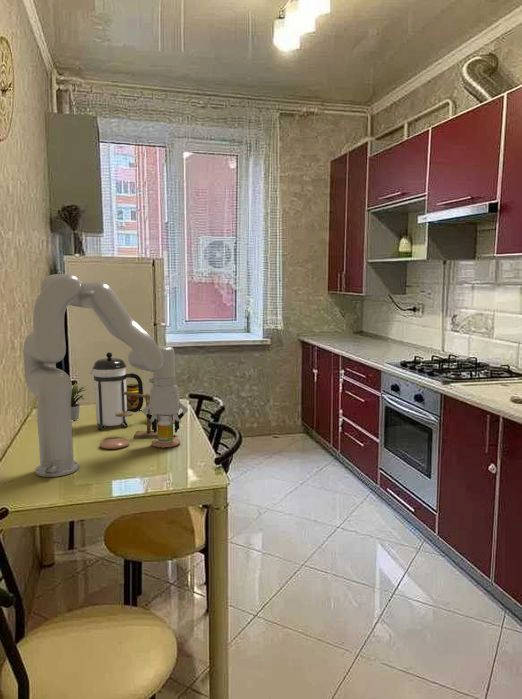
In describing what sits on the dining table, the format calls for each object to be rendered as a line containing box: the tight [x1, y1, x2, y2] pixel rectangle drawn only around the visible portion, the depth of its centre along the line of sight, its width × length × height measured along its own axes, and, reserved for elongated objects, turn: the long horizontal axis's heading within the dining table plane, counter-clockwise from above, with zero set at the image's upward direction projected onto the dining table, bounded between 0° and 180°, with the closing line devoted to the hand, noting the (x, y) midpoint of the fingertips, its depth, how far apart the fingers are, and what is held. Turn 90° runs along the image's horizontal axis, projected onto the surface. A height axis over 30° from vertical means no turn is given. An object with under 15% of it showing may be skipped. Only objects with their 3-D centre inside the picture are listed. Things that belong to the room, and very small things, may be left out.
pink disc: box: [99, 437, 130, 450], centre depth 186 cm, size 10×10×1 cm
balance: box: [115, 392, 182, 439], centre depth 197 cm, size 24×7×17 cm, turn 93°
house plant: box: [71, 382, 89, 421], centre depth 221 cm, size 14×14×16 cm
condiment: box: [126, 383, 139, 409], centre depth 239 cm, size 7×8×12 cm
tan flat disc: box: [151, 437, 182, 449], centre depth 187 cm, size 10×10×1 cm
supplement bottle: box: [157, 415, 174, 443], centre depth 186 cm, size 5×5×10 cm
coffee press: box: [89, 351, 144, 431], centre depth 211 cm, size 17×16×30 cm
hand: (165, 431), depth 186 cm, fingers open, 6 cm apart
